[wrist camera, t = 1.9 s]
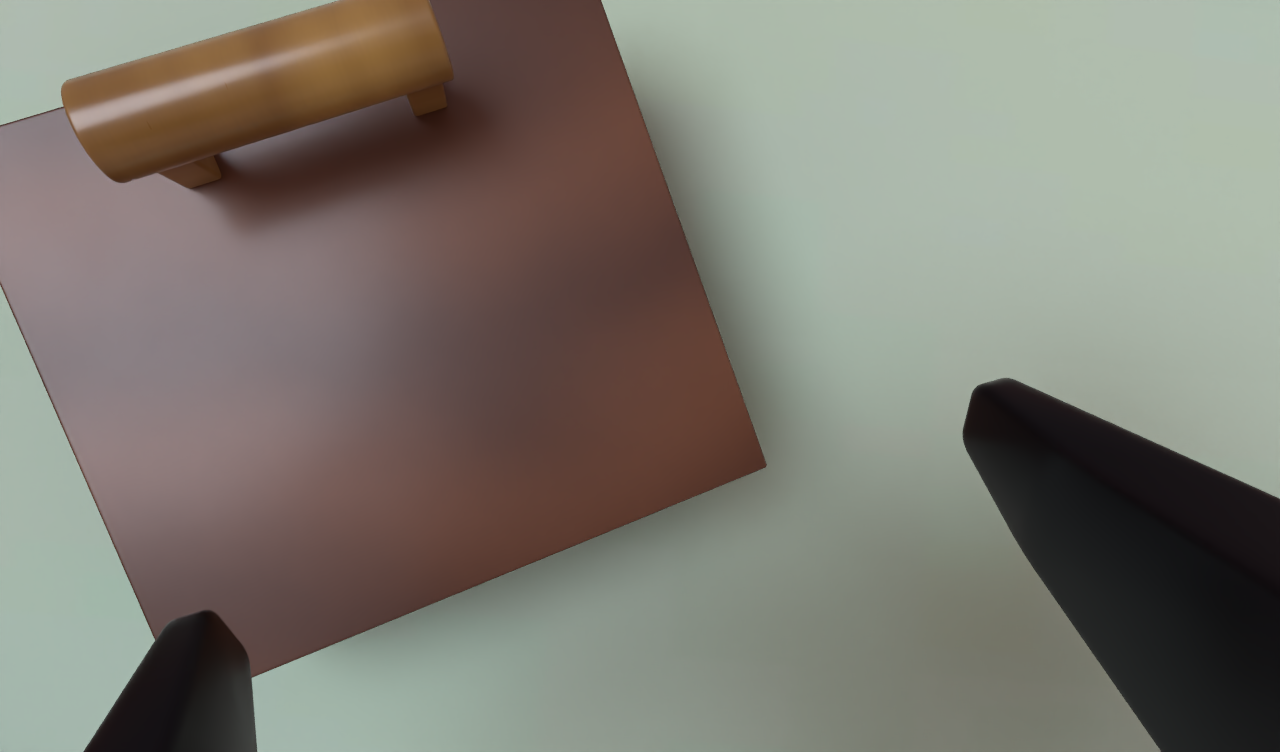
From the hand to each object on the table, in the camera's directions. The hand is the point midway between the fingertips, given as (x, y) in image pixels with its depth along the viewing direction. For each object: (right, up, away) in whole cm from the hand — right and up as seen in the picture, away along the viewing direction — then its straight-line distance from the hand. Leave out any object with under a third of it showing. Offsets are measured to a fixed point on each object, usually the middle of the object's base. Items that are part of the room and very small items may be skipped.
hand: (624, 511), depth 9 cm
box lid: (-5, +3, +8) cm, 9 cm away
